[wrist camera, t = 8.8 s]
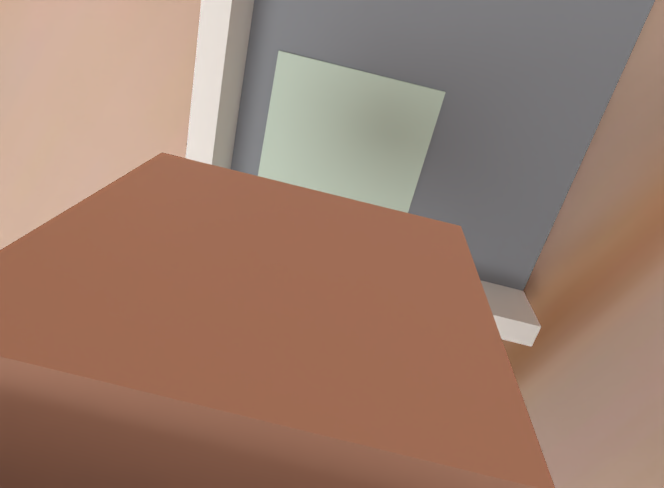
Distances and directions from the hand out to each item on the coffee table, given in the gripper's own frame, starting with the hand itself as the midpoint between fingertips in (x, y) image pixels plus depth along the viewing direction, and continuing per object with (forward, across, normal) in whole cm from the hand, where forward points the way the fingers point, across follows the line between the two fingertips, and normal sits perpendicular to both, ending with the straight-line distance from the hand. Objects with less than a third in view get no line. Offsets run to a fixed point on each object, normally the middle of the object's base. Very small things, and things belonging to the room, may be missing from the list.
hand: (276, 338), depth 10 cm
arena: (+17, -2, -2) cm, 17 cm away
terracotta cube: (+1, 0, 0) cm, 1 cm away
